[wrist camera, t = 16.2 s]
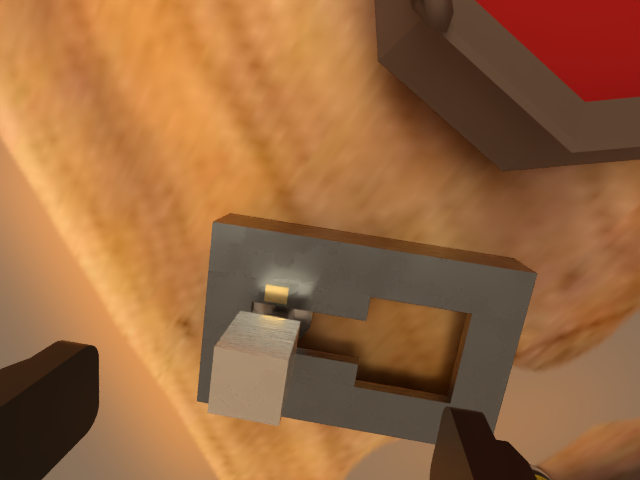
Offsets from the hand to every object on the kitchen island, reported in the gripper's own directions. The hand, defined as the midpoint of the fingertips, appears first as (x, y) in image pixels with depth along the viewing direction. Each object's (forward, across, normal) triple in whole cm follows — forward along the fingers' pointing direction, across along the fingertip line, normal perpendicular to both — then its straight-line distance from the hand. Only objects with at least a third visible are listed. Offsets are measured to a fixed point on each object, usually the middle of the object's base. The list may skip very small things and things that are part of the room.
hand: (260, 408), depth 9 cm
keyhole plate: (+23, -3, +7) cm, 24 cm away
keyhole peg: (+22, +3, +7) cm, 24 cm away
